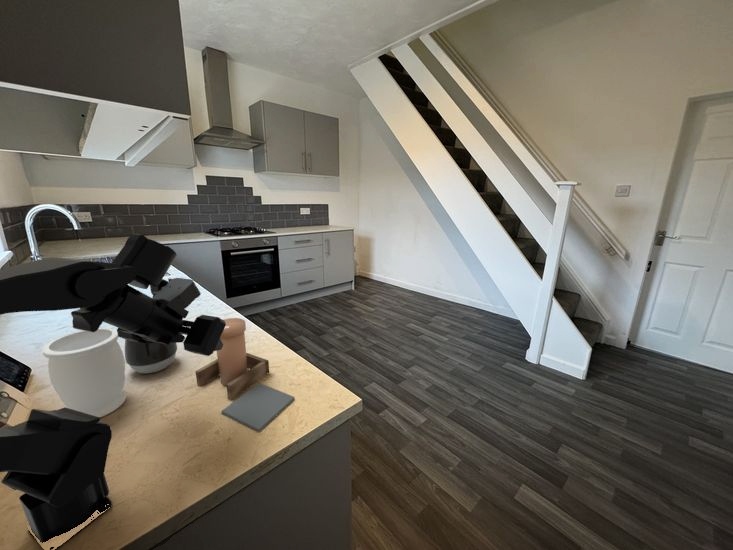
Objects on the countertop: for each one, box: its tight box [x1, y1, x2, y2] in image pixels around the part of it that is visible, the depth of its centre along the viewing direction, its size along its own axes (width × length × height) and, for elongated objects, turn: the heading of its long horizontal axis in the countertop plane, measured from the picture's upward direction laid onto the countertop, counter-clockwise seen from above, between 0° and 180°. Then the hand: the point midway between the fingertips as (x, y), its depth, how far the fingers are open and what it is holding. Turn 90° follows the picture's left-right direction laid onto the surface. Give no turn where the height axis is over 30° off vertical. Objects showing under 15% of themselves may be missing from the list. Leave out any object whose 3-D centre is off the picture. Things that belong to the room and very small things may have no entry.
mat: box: [221, 382, 295, 433], centre depth 59 cm, size 10×10×1 cm
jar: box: [41, 327, 127, 418], centre depth 56 cm, size 11×10×15 cm
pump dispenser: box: [124, 339, 178, 374], centre depth 69 cm, size 10×10×15 cm
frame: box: [194, 352, 270, 401], centre depth 67 cm, size 11×11×4 cm
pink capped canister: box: [216, 317, 249, 388], centre depth 66 cm, size 7×7×14 cm
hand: (202, 343), depth 57 cm, fingers open, 9 cm apart
